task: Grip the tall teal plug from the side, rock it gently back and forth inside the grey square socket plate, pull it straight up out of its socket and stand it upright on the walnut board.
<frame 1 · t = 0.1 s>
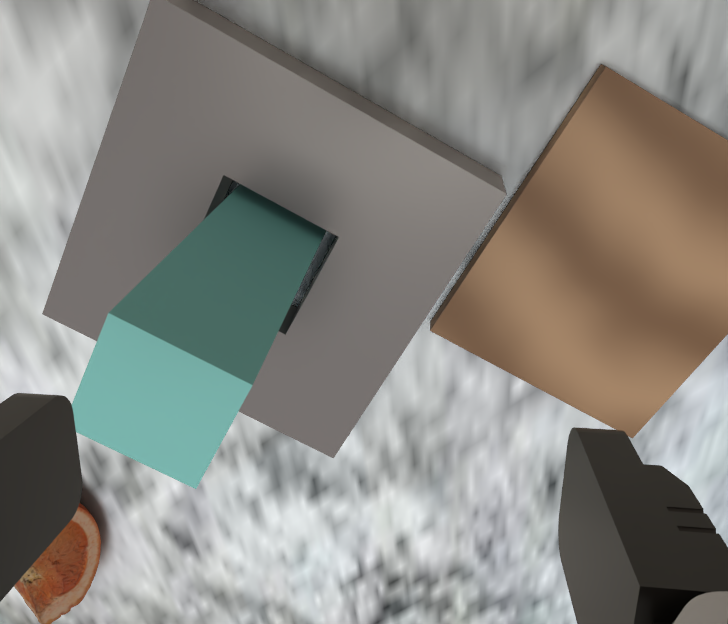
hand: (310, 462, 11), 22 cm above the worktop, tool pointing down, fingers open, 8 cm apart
board: (615, 266, 32), on the worktop
plug: (227, 299, 27), in the grey square socket plate
fruit slice: (61, 515, 43), on the worktop
grey square socket plate: (271, 236, 33), on the worktop
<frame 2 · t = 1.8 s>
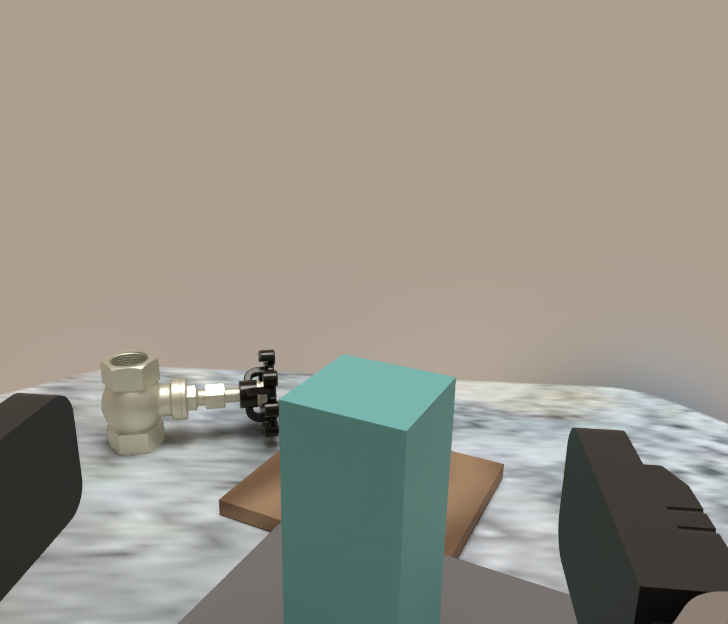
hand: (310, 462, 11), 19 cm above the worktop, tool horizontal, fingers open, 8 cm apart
board: (368, 494, 43), on the worktop
plug: (366, 575, 25), in the grey square socket plate
valve: (193, 441, 50), on the worktop
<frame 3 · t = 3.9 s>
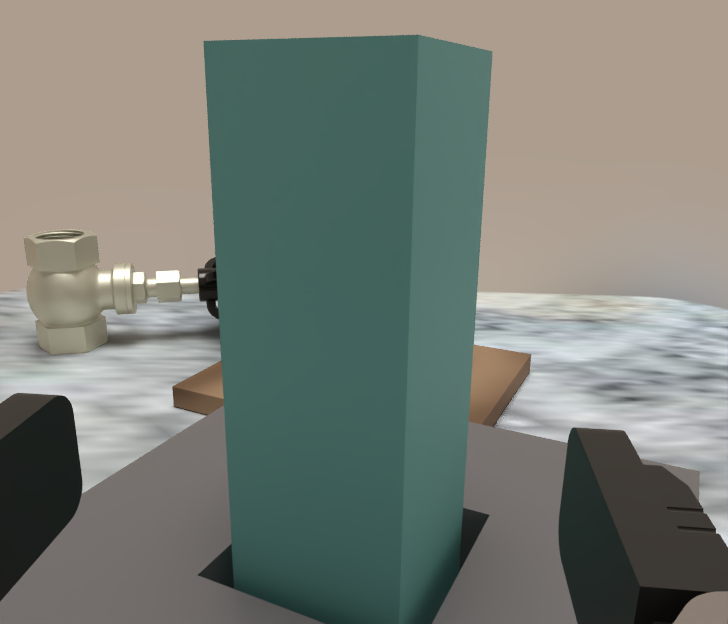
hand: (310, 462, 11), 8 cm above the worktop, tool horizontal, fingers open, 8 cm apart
board: (363, 387, 34), on the worktop
plug: (355, 383, 16), in the grey square socket plate
valve: (143, 344, 41), on the worktop
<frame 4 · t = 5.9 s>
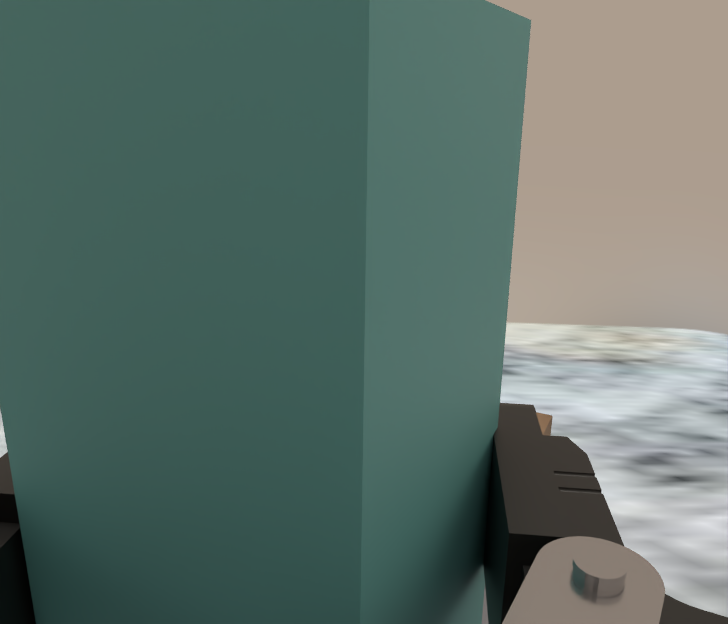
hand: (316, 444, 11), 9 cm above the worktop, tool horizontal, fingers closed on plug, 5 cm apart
plug: (286, 597, 9), in the grey square socket plate, touching gripper
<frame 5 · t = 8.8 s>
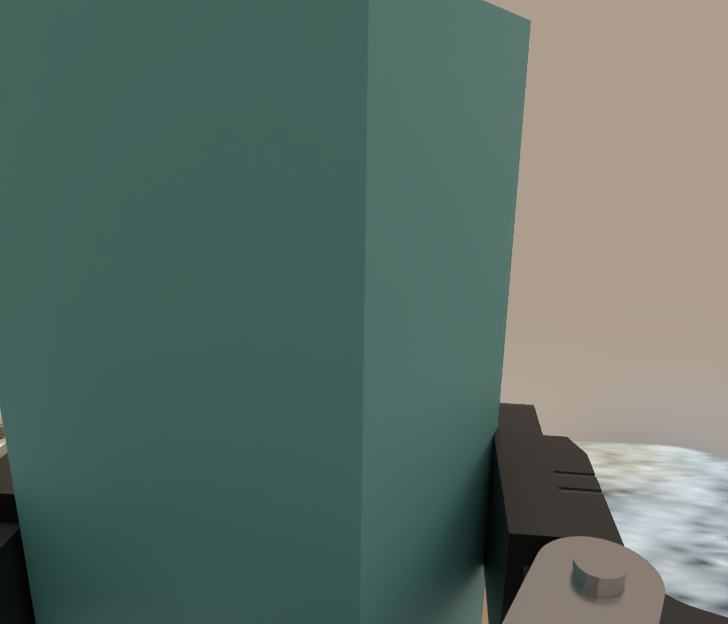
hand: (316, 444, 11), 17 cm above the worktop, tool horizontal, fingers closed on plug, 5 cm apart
plug: (286, 597, 9), point 16 cm above the worktop, touching gripper
when the fingers open (11 cm above the worktop, at t = 12.0 s): plug drops 1 cm, resting on board.
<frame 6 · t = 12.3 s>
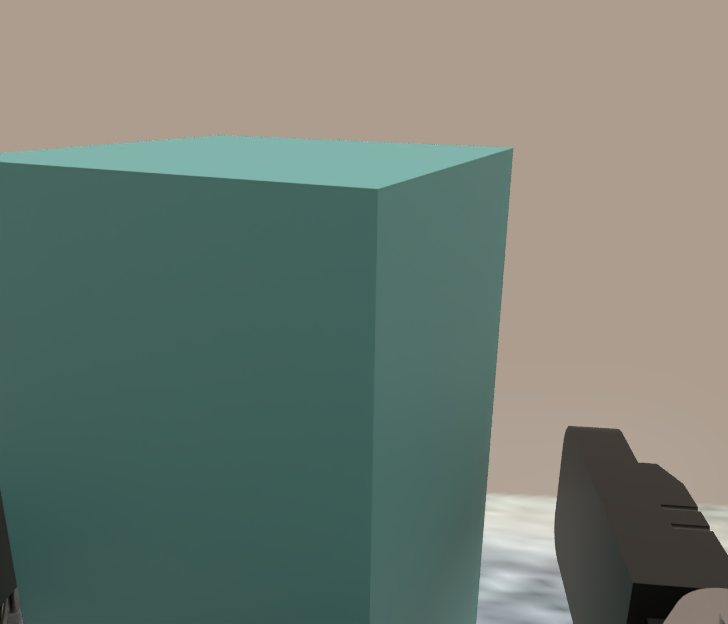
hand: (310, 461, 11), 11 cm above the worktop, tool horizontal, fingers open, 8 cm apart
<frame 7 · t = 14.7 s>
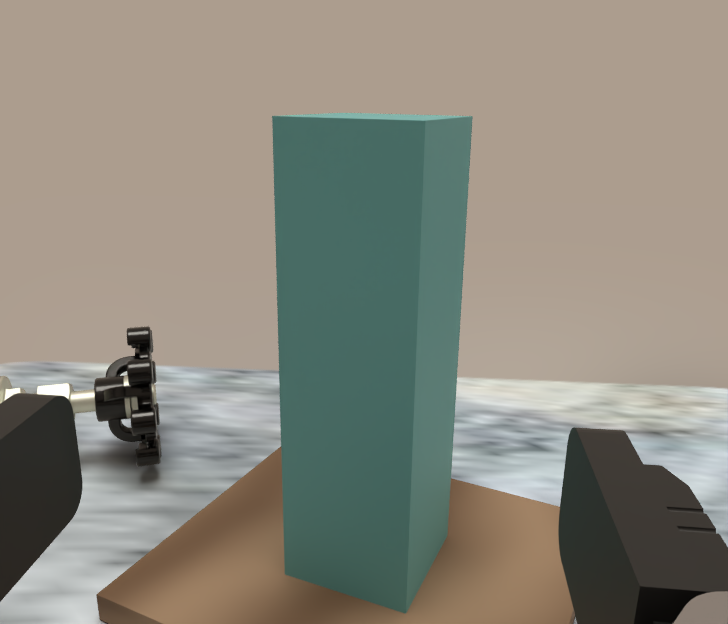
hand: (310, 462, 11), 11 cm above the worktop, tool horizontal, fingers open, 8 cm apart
board: (370, 575, 25), on the worktop
plug: (373, 358, 22), on the board, point 8 cm above the worktop
valve: (25, 478, 31), on the worktop
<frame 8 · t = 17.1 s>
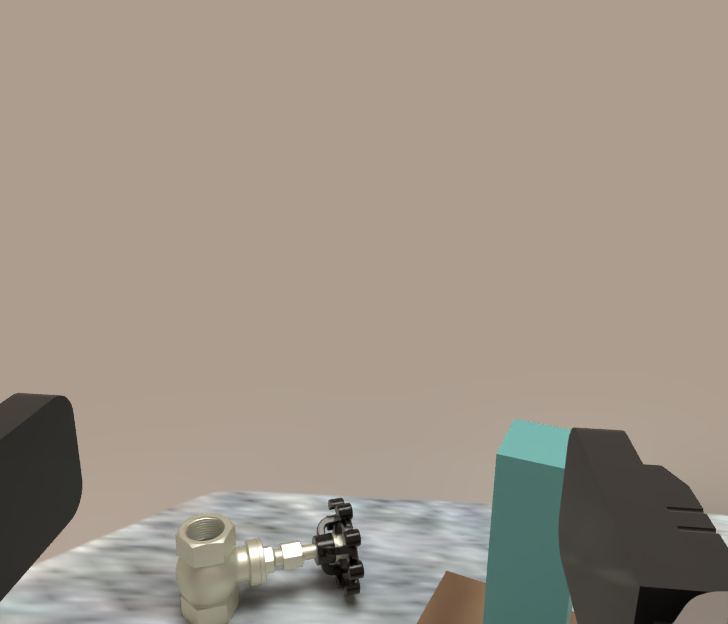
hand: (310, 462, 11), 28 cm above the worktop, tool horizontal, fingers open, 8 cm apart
plug: (534, 562, 38), on the board, point 8 cm above the worktop
valve: (267, 601, 48), on the worktop
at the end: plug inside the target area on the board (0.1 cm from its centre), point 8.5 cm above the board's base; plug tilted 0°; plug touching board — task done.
